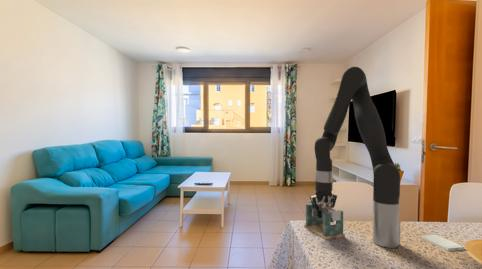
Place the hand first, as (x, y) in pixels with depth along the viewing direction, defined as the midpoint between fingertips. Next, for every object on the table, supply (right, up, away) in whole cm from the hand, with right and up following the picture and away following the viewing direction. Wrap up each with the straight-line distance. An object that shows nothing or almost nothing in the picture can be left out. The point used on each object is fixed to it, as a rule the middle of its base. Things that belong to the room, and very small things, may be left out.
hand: (323, 217), depth 117 cm
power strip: (0, -1, 0) cm, 1 cm away
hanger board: (0, -7, 0) cm, 7 cm away
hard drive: (+45, -8, -12) cm, 47 cm away
